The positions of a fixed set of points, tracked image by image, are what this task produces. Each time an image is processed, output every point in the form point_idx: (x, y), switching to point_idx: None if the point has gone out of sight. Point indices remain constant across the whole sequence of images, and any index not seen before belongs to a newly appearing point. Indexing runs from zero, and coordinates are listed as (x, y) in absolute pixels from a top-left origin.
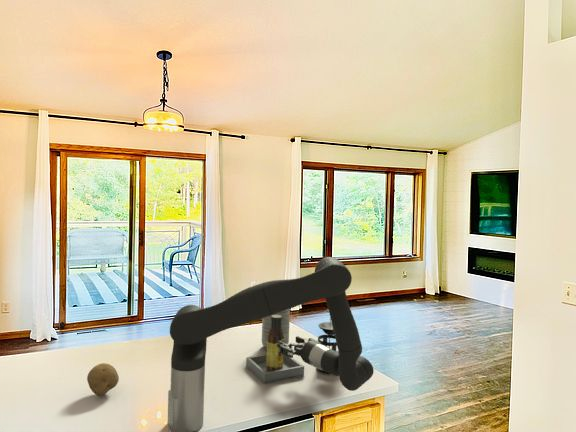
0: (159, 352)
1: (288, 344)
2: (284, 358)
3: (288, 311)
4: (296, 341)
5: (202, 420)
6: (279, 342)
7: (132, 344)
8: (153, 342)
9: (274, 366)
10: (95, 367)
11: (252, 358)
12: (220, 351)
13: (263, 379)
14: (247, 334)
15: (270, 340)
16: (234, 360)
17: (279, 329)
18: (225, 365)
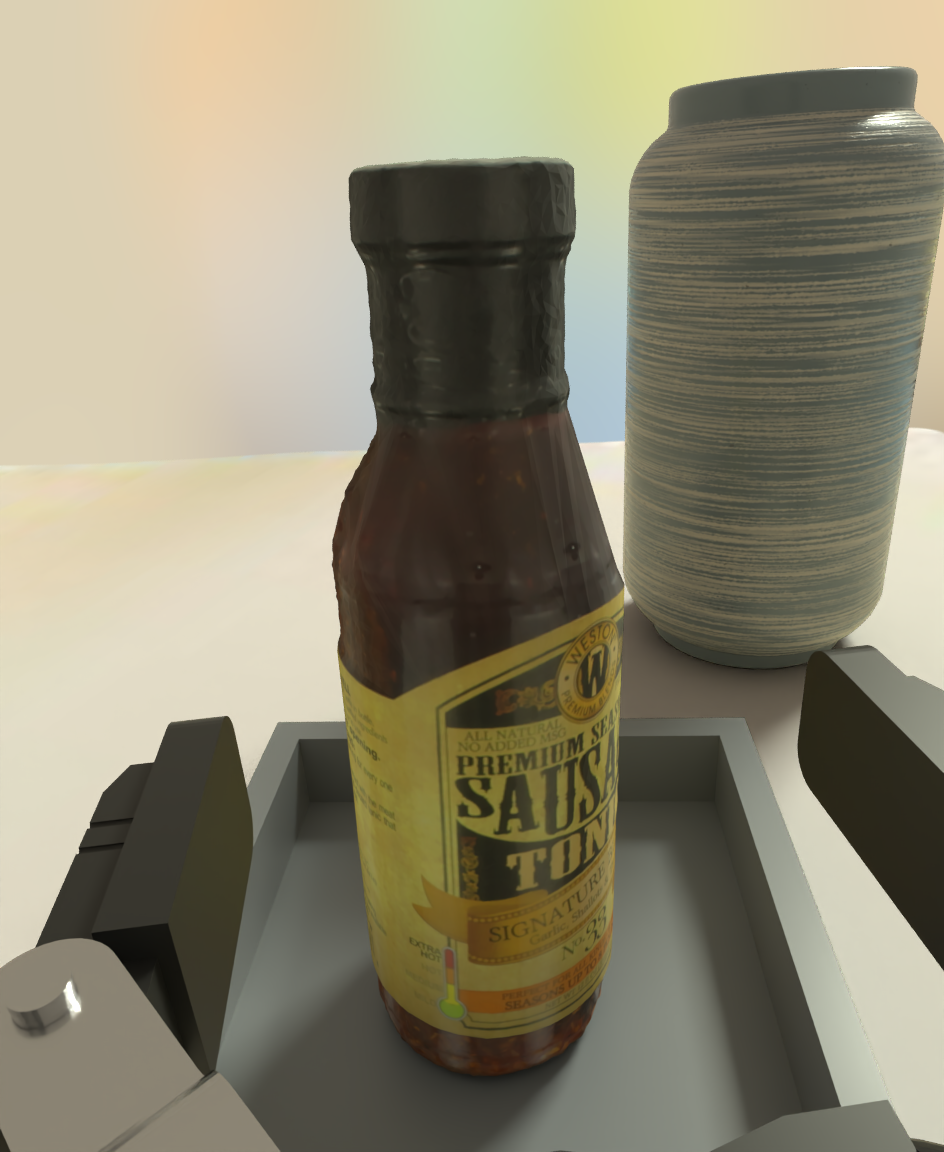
0: (13, 541)
1: (119, 1091)
2: (726, 815)
3: (903, 264)
4: (813, 767)
5: None
6: (155, 788)
7: (6, 481)
8: (98, 482)
9: (418, 1009)
10: None
11: (331, 747)
12: (312, 588)
13: None
14: (622, 488)
15: (340, 619)
16: (294, 695)
17: (484, 438)
18: (161, 737)
